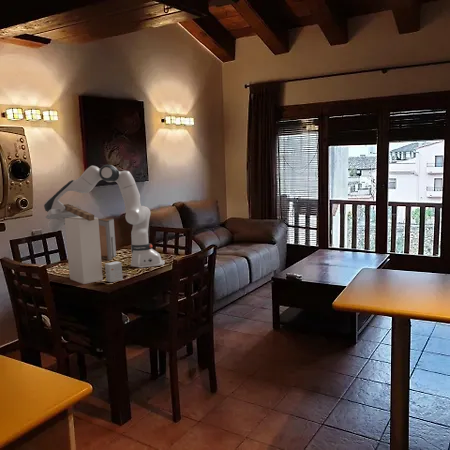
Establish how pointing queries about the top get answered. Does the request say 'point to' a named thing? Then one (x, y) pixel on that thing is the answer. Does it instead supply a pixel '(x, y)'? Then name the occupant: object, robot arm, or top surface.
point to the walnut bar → (79, 212)
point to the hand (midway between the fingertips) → (68, 206)
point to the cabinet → (107, 238)
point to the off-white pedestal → (83, 249)
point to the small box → (113, 271)
